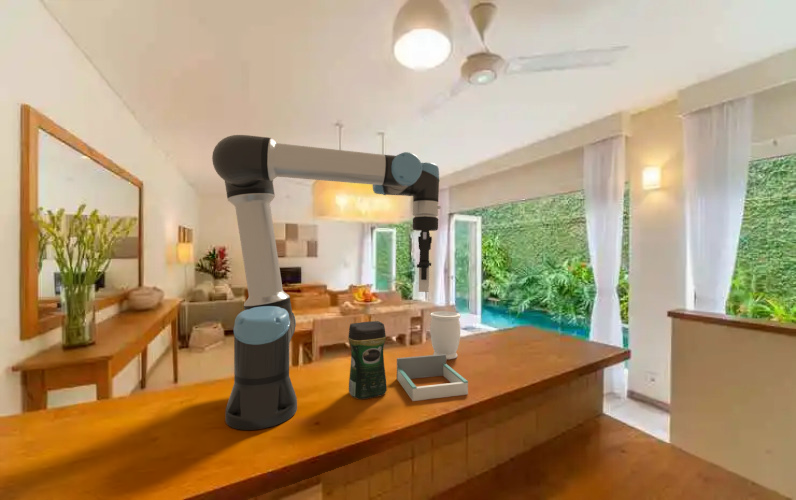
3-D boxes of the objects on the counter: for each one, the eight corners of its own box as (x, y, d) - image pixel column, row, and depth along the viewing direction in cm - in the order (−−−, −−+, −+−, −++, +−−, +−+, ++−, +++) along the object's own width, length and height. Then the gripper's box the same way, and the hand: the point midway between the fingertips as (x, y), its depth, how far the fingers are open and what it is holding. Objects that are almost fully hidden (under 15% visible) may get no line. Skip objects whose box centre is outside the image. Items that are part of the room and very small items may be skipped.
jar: (464, 354, 121) (464, 312, 121) (453, 362, 112) (453, 317, 112) (437, 350, 127) (437, 310, 127) (424, 357, 118) (424, 314, 118)
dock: (412, 401, 84) (412, 376, 84) (396, 378, 98) (396, 358, 98) (467, 394, 88) (467, 371, 88) (444, 373, 102) (444, 354, 102)
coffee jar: (379, 384, 94) (379, 317, 94) (390, 396, 87) (390, 323, 87) (345, 390, 90) (345, 320, 90) (353, 402, 83) (353, 326, 83)
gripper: (439, 212, 87) (437, 294, 87) (437, 221, 112) (436, 285, 112) (410, 211, 88) (408, 293, 88) (414, 220, 113) (413, 284, 113)
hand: (424, 289), depth 100 cm, fingers open, 13 cm apart
